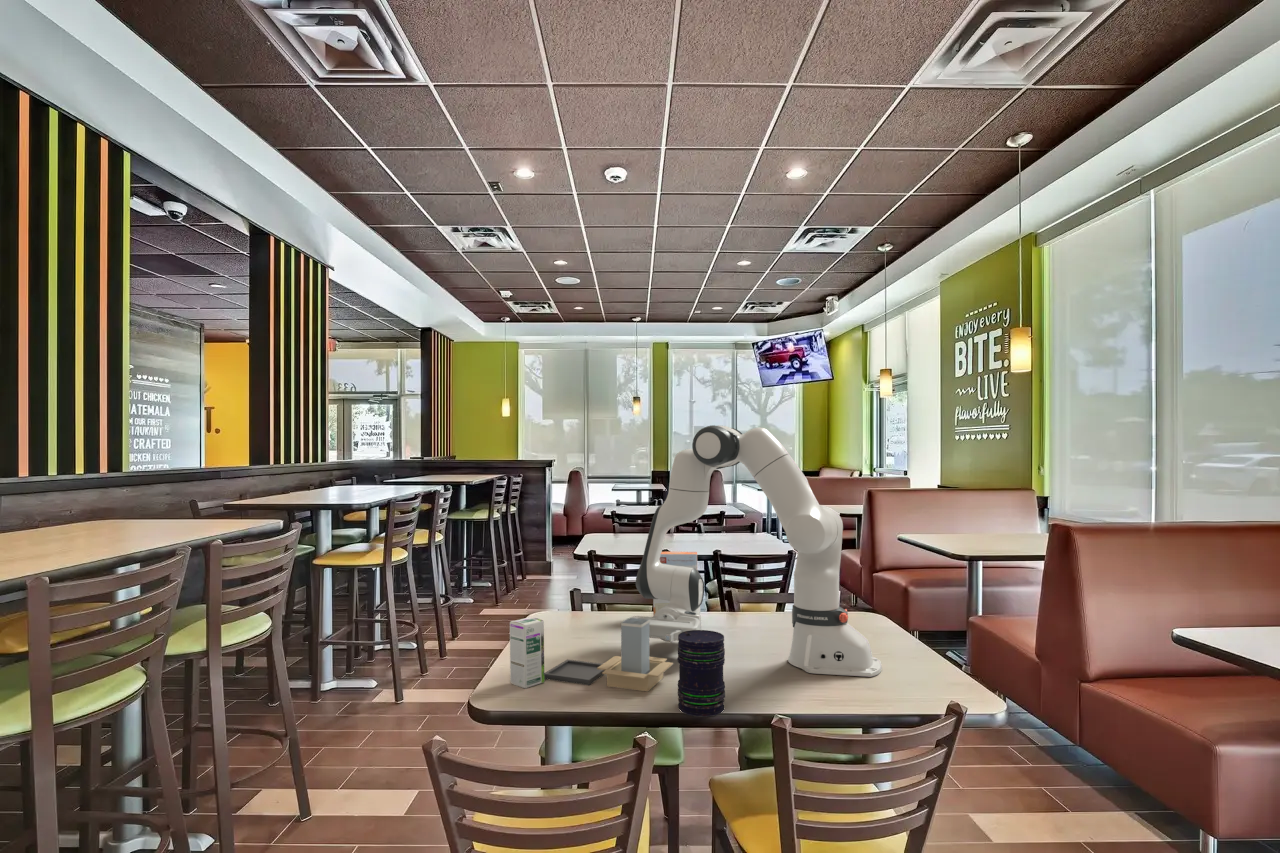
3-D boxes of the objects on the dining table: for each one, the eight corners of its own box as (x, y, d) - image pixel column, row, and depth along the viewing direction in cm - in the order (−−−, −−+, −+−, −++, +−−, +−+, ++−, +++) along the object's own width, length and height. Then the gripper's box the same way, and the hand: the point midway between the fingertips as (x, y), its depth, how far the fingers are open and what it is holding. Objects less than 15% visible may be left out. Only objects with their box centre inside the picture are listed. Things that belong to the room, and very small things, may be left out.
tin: (649, 679, 167) (649, 619, 167) (641, 686, 162) (641, 624, 163) (629, 677, 169) (629, 617, 169) (621, 684, 164) (620, 622, 164)
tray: (610, 669, 174) (610, 664, 174) (589, 685, 163) (589, 679, 163) (567, 664, 179) (567, 659, 179) (543, 678, 168) (543, 673, 168)
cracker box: (698, 616, 228) (697, 551, 228) (697, 621, 222) (697, 553, 222) (654, 615, 229) (654, 550, 229) (652, 620, 223) (652, 553, 223)
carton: (676, 675, 170) (676, 659, 170) (654, 696, 156) (654, 679, 156) (619, 668, 175) (618, 653, 175) (592, 688, 161) (592, 671, 161)
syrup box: (525, 689, 161) (525, 624, 161) (509, 683, 165) (509, 620, 165) (544, 682, 165) (544, 619, 165) (528, 677, 169) (528, 615, 169)
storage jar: (731, 703, 152) (730, 632, 152) (716, 720, 143) (716, 644, 143) (687, 696, 156) (686, 628, 156) (670, 712, 147) (670, 639, 147)
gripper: (633, 607, 192) (611, 619, 179) (706, 614, 184) (689, 627, 171) (633, 631, 191) (611, 645, 179) (706, 639, 184) (689, 653, 171)
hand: (650, 636), depth 175 cm, fingers open, 8 cm apart
